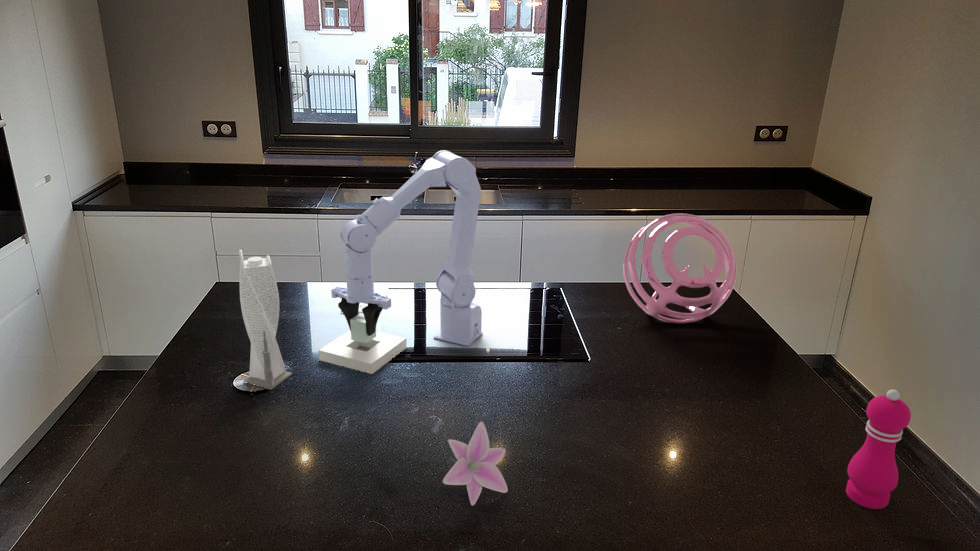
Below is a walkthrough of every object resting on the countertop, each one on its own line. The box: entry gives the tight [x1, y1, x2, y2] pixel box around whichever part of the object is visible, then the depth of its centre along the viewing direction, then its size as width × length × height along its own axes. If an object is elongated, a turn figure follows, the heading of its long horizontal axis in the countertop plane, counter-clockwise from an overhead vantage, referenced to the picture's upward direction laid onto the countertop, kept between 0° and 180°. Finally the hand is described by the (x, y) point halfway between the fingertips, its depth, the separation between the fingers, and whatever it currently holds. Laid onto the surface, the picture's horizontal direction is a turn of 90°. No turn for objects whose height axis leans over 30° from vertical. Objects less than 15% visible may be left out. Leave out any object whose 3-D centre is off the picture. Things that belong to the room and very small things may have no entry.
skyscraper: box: [238, 249, 293, 391], centre depth 141 cm, size 8×8×28 cm
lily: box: [442, 421, 509, 506], centre depth 112 cm, size 12×12×10 cm
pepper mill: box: [845, 388, 912, 510], centre depth 109 cm, size 7×7×20 cm
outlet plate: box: [318, 329, 408, 375], centre depth 156 cm, size 14×14×2 cm
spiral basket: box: [622, 212, 738, 324], centre depth 176 cm, size 28×28×27 cm
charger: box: [350, 313, 377, 343], centre depth 154 cm, size 4×4×5 cm
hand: (362, 331), depth 154 cm, fingers closed on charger, 4 cm apart
